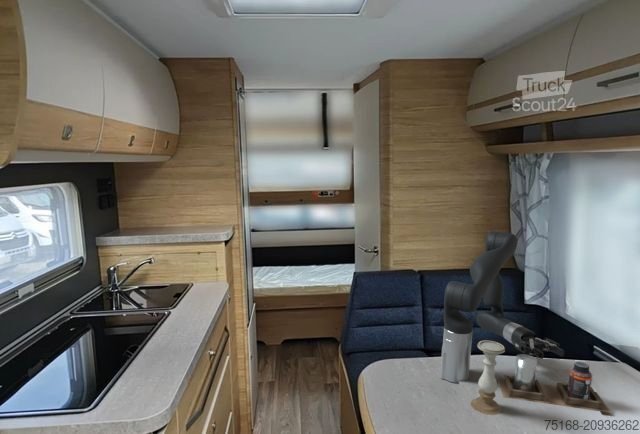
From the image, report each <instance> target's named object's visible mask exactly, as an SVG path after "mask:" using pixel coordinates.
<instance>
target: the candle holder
mask: <svg viewBox="0 0 640 434" xmlns="http://www.w3.org/2000/svg"><path fill="white" fill-rule="evenodd" d="M476 346H477V348H478V349H479V350H480V351H482V353H483V354H484V358H483V360H482V362H483V363H484V366H483V372H482V374H481V376H480V377H479V379H478V382H477V385H478V388H479V389H478V394H479V396H478V397H476V398H473V399H472V400H471V401H470V407H471V408H472V409H474V411H477V412H479V413H480V414H484V415H487V416H488V415H489V416H494V415H495V416H496V415H498V414H501V413H502V407H501V406H500V405H499V404H498V402H497V401H496V400H494V398H496V393H495V392H496V391H497V389H498V387H499V385H498V380H497V379H496V375H495V366H497V361H496V357H498V356H499V355H501V354H503V353H505V352H506V347H505V346H504V345H503V344H501V343H500V342H497V341H494V340H481V341H478V343H477V345H476Z"/></svg>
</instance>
